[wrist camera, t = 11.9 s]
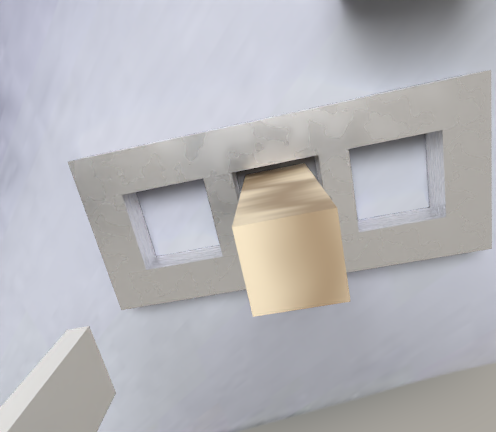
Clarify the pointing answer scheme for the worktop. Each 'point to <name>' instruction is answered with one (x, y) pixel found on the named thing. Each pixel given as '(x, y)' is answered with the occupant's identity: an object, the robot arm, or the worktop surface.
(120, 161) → the slotted peg board
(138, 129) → the worktop surface
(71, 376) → the robot arm
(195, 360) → the worktop surface
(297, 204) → the beech peg
